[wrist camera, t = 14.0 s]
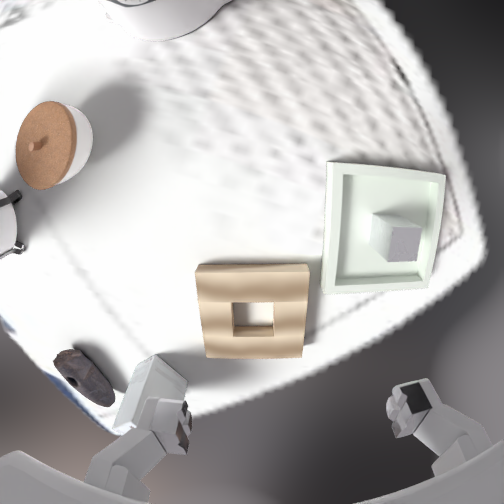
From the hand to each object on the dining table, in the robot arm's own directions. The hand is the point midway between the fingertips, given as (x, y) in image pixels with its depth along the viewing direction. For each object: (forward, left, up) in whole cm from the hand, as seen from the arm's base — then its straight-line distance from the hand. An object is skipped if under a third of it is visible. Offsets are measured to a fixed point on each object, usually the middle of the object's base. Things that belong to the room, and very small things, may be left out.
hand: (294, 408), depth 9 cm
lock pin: (0, +15, -25) cm, 29 cm away
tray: (0, +15, -26) cm, 30 cm away
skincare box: (+26, -18, -27) cm, 41 cm away
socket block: (+12, -2, -26) cm, 29 cm away
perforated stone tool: (+28, -34, -27) cm, 52 cm away
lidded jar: (-13, -26, -27) cm, 39 cm away
